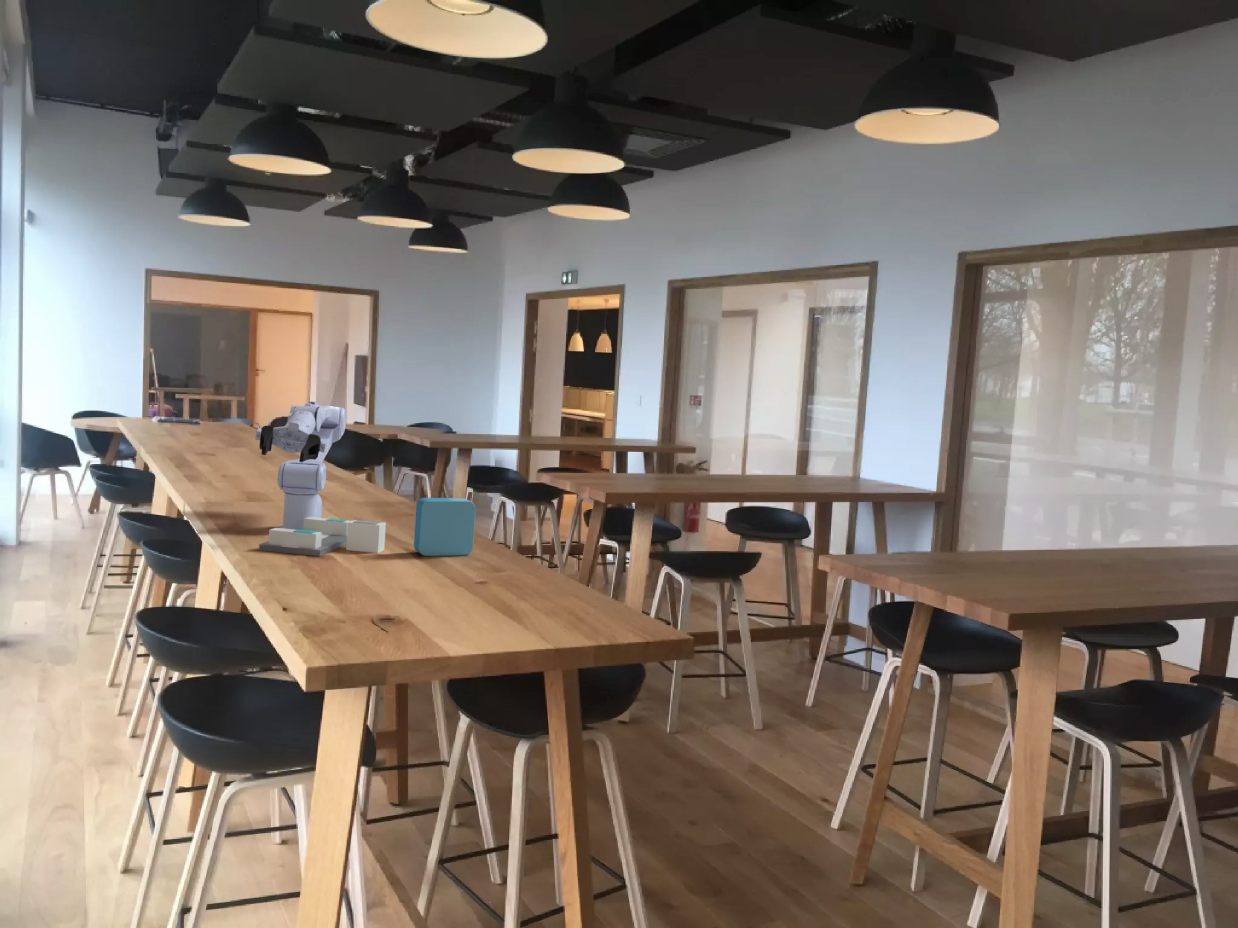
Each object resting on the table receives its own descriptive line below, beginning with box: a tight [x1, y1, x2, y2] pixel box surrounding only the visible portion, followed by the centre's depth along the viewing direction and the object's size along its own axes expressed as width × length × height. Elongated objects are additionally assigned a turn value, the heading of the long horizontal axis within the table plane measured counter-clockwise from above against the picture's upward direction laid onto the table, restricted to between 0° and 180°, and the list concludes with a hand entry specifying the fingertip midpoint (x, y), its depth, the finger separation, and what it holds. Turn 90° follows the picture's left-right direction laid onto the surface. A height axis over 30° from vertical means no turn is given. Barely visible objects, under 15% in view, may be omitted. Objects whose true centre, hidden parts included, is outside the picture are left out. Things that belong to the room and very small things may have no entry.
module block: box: [345, 519, 387, 554], centre depth 207 cm, size 4×7×6 cm, turn 84°
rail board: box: [258, 517, 351, 557], centre depth 208 cm, size 22×13×4 cm, turn 175°
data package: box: [413, 497, 476, 557], centre depth 209 cm, size 12×4×12 cm, turn 118°
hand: (282, 454), depth 200 cm, fingers open, 7 cm apart
